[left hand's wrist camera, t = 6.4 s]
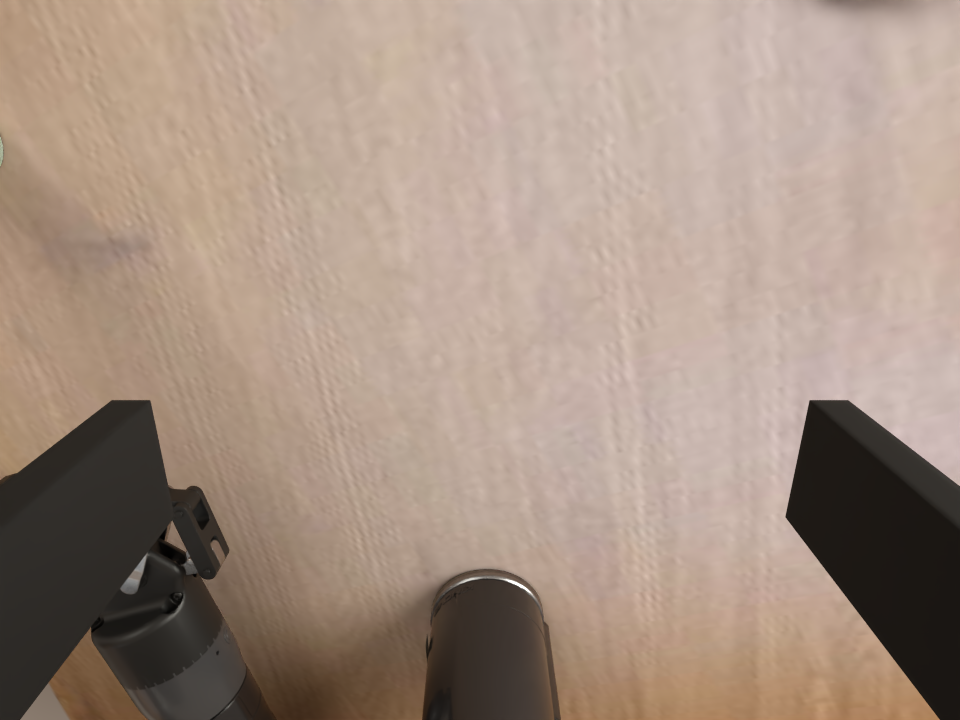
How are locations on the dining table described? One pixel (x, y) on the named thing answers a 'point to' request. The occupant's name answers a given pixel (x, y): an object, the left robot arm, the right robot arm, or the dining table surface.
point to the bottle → (1, 151)
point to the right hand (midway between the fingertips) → (60, 464)
